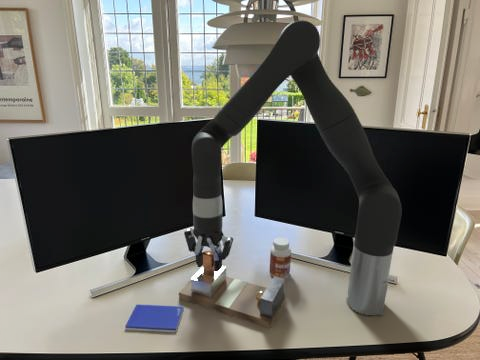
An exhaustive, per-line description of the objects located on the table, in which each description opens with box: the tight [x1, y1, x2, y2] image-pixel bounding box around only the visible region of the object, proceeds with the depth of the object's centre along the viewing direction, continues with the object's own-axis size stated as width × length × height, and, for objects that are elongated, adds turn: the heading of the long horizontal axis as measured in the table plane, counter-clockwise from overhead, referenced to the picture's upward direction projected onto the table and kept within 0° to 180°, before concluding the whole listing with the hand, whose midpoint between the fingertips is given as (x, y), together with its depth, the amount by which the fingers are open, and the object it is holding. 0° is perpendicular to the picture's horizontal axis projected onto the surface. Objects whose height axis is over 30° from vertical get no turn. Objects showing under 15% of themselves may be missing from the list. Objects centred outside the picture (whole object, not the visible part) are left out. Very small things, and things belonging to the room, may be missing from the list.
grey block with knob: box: [256, 276, 286, 319], centre depth 87 cm, size 6×10×5 cm, turn 156°
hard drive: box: [124, 303, 185, 333], centre depth 85 cm, size 2×8×12 cm
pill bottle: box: [268, 237, 292, 279], centre depth 102 cm, size 6×6×11 cm
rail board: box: [178, 276, 286, 329], centre depth 92 cm, size 26×12×2 cm, turn 66°
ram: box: [190, 249, 227, 297], centre depth 93 cm, size 6×9×10 cm, turn 156°
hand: (208, 267), depth 92 cm, fingers open, 4 cm apart
